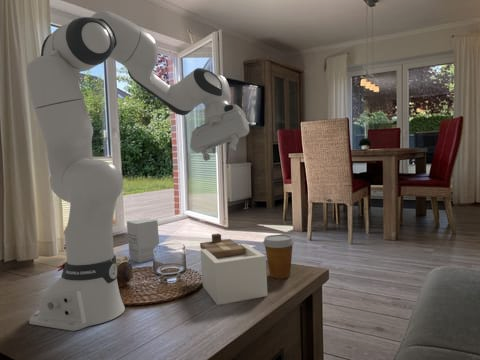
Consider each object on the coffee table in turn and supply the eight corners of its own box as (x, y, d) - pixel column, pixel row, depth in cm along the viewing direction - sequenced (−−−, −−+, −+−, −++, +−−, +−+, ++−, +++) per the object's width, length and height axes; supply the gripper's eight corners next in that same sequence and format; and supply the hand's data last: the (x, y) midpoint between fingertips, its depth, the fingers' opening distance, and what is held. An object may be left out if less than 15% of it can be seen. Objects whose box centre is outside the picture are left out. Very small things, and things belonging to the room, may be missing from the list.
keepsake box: (202, 286, 114) (200, 249, 113) (246, 278, 118) (245, 243, 118) (217, 305, 99) (215, 263, 98) (267, 295, 103) (265, 255, 103)
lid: (200, 247, 122) (199, 235, 122) (230, 243, 126) (229, 231, 125) (211, 258, 109) (211, 244, 109) (244, 253, 112) (244, 240, 112)
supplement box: (150, 254, 155) (147, 217, 154) (160, 258, 148) (158, 219, 147) (128, 259, 149) (126, 221, 148) (139, 263, 143) (136, 223, 141)
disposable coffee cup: (297, 279, 115) (295, 240, 114) (265, 281, 115) (263, 241, 115) (293, 270, 125) (291, 233, 124) (264, 271, 125) (262, 235, 124)
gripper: (186, 124, 126) (185, 160, 119) (240, 102, 118) (242, 139, 111) (197, 134, 131) (197, 169, 124) (250, 113, 122) (253, 149, 116)
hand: (219, 154), depth 118 cm, fingers open, 8 cm apart
